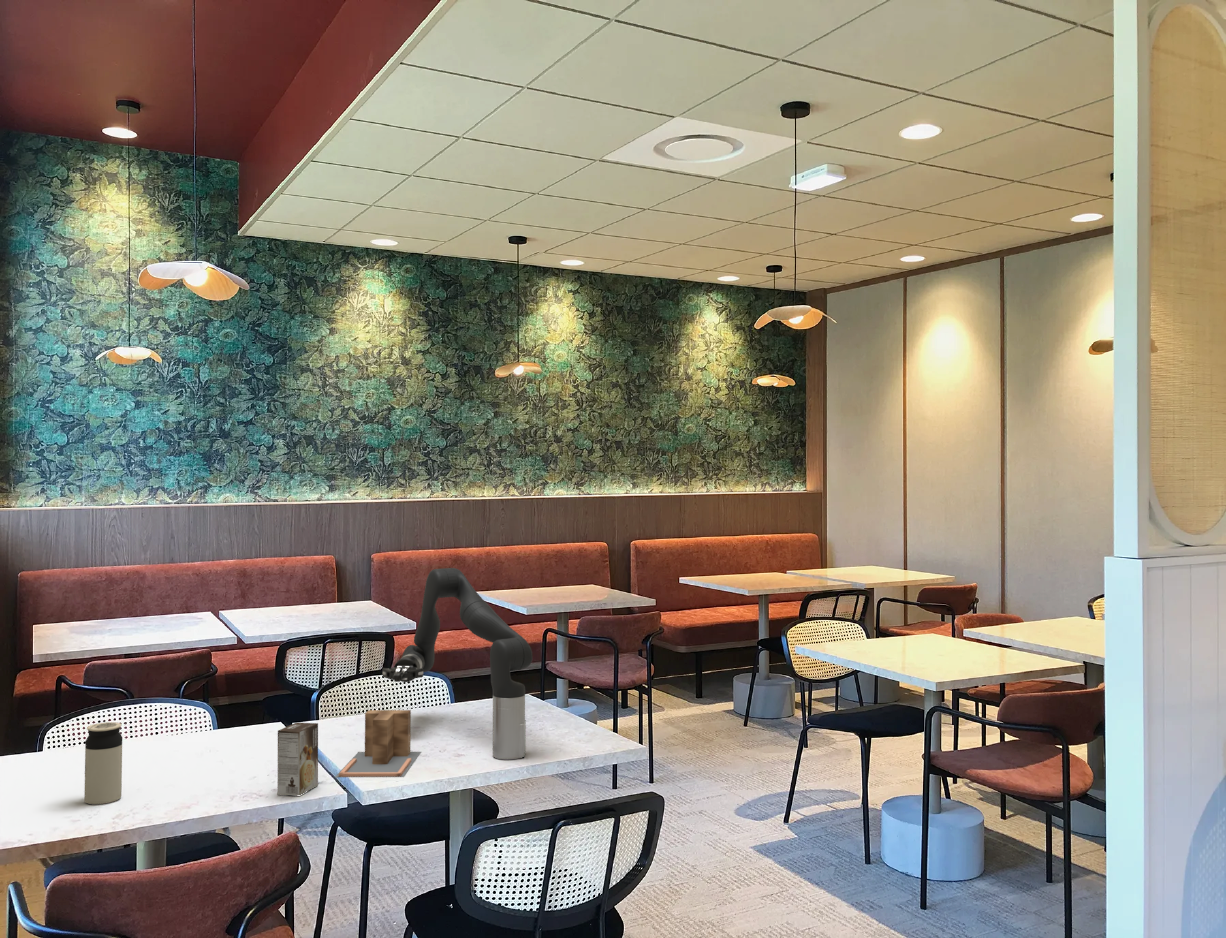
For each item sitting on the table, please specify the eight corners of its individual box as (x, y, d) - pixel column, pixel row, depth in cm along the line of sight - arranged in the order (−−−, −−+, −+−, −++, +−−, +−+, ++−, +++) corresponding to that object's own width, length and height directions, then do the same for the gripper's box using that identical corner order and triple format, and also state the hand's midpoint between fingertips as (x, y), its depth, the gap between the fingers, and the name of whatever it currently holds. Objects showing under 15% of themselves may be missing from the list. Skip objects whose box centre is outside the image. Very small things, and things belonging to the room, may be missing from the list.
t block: (410, 752, 274) (410, 710, 274) (401, 764, 262) (402, 719, 262) (368, 752, 274) (368, 710, 274) (357, 764, 262) (358, 720, 262)
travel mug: (127, 794, 238) (128, 721, 238) (111, 805, 230) (112, 729, 230) (94, 795, 237) (95, 721, 238) (77, 805, 230) (79, 729, 230)
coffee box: (295, 784, 246) (296, 721, 247) (318, 786, 245) (319, 722, 246) (276, 795, 237) (277, 730, 238) (299, 797, 236) (300, 731, 237)
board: (421, 755, 275) (421, 748, 275) (404, 780, 250) (404, 773, 250) (358, 755, 274) (358, 748, 274) (334, 781, 249) (334, 774, 250)
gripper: (387, 655, 302) (374, 665, 284) (429, 655, 302) (419, 665, 284) (387, 679, 301) (374, 691, 284) (429, 679, 302) (419, 691, 284)
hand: (397, 678), depth 284 cm, fingers closed
